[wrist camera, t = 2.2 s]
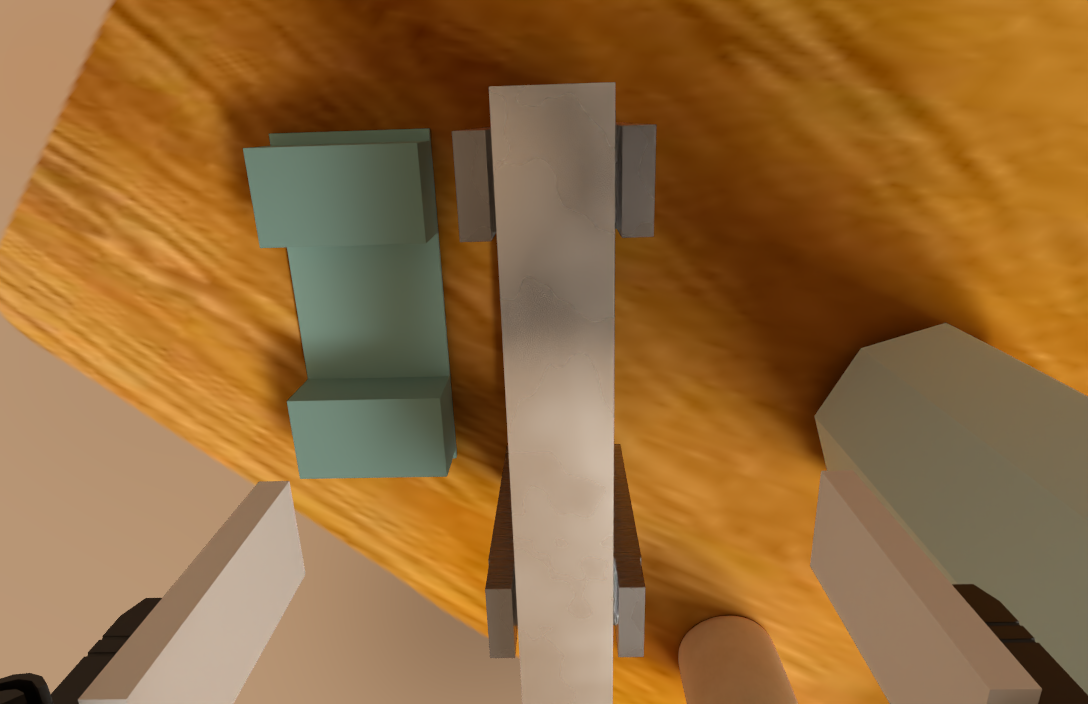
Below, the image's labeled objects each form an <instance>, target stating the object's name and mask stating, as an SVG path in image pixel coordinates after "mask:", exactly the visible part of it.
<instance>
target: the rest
mask: <svg viewBox="0 0 1088 704" xmlns="http://www.w3.org/2000/svg"><path fill="white" fill-rule="evenodd" d="M269 139H270V145H271V146H262V147H252V148H243V152H244V158H245V164H246V169H247V175H248V181H249V187H250V192H251V198H252V204H253V210H254V216H255V221H256V227H257V233H258V239H259V244H260V248H279V247H287V251H288V257H289V264H290V270H291V276H292V282H293V289H294V295H295V301H296V307H297V314H298V320H299V326H300V332H301V339H302V345H303V351H304V358H305V364H306V370H307V376H308V380H307V381H306V382H305V383H304V384H303V385H302V386H301V387H300V388H299V389H298V390H297V391H296V392H295V393H294V394H293V395H292V396H291V397H290V398H289V399H288V401H287V406H288V412H289V417H290V423H291V429H292V435H293V440H294V446H295V452H296V458H297V463H298V469H299V475H300V479H318V478H380V477H443V476H447V475H448V472H449V468H450V465H451V462H452V459H453V458H456V457H457V449H456V437H455V425H454V413H453V401H452V389H451V377H450V365H449V353H448V341H447V329H446V317H445V305H444V293H443V281H442V269H441V257H440V245H439V233H438V221H437V209H436V197H435V185H434V173H433V161H432V149H431V137H430V128H427V129H397V130H366V131H335V132H304V133H274V134H269Z"/></svg>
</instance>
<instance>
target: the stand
mask: <svg viewBox="0 0 1088 704" xmlns="http://www.w3.org/2000/svg"><path fill="white" fill-rule="evenodd" d="M452 141H453V154H454V168H455V182H456V195H457V209H458V223H459V237H460V242H479V241H492V239H493V237H494V236H495V234H496V232H497V230H496V212H495V193H494V175H493V157H492V138H491V127H482V128H473V129H465V130H457V131H452ZM655 163H656V124H642V123H625V122H618V123H616V110H615V229H618V231H619V233H620V235H621V237H622V238H627V237H654V205H655ZM614 345H615V279H614ZM485 593H486V606H487V620H488V634H489V648H490V658H515V654H516V642H517V630H518V616H517V598H516V580H515V561H514V543H513V524H512V506H511V488H510V469H509V451H508V446H507V448H506V454H505V461H504V467H503V473H502V479H501V486H500V492H499V498H498V504H497V510H496V517H495V523H494V529H493V535H492V541H491V548H490V554H489V569H488V575H487V581H486V588H485ZM644 623H645V583H644V577H643V572H642V566H641V554H640V548H639V543H638V537H637V532H636V527H635V521H634V516H633V511H632V505H631V500H630V494H629V489H628V484H627V478H626V473H625V468H624V462H623V457H622V451H621V446H620V444H614V506H613V625H615V630H616V639H617V648H618V657H644Z"/></svg>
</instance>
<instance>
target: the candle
mask: <svg viewBox="0 0 1088 704" xmlns="http://www.w3.org/2000/svg"><path fill="white" fill-rule="evenodd" d="M678 662H679V669H680V674H681V679H682V683H683V688H684V693H685V697H686V702H687V704H798V702H797V699H796V697H795V695H794V692H793V690H792V687H791V685H790V682H789V680H788V677H787V675H786V672H785V670H784V668H783V665H782V663H781V660H780V658H779V655H778V653H777V651H776V648H775V646H774V644H773V642H772V640H771V638H770V636H769V635H768V633H767V632H766V631H765V630H764V629H763V628H762V627H761V626H760V625H759V624H757V623H756V622H754V621H752V620H750V619H747V618H744V617H739V616H718V617H714V618H710V619H707V620H705V621H703V622H701V623H699V624H697V625H696V626H694V627H693V628H692V629H691V630H690V631H689V632H688V633H687V634H686V635H685V637H684V638H683V640H682V642H681V644H680V647H679V652H678Z"/></svg>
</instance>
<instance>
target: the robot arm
mask: <svg viewBox="0 0 1088 704" xmlns="http://www.w3.org/2000/svg"><path fill="white" fill-rule="evenodd" d="M810 566H811V568H812V570H813V572H814V573H815V575H816V577H817V579H818V580H819V582H820V584H821V585H822V587H823V589H824V591H825V592H826V594H827V596H828V598H829V599H830V601H831V603H832V604H833V606H834V608H835V610H836V611H837V613H838V615H839V617H840V618H841V620H842V622H843V623H844V625H845V627H846V629H847V630H848V632H849V634H850V636H851V637H852V639H853V641H854V642H855V644H856V646H857V648H858V649H859V651H860V653H861V655H862V656H863V658H864V660H865V661H866V663H867V665H868V667H869V668H870V670H871V672H872V674H873V675H874V677H875V679H876V680H877V682H878V684H879V686H880V687H881V689H882V691H883V692H884V694H885V696H886V698H887V699H888V701H889V703H890V704H1088V695H1087V694H1086V693H1085V692H1084V690H1083V689H1082V688H1081V687H1080V686H1079V685H1078V684H1077V683H1076V682H1075V681H1074V680H1073V679H1072V678H1071V677H1070V675H1069V674H1068V673H1067V672H1066V671H1065V670H1064V669H1063V668H1062V667H1061V666H1060V665H1059V664H1058V663H1057V662H1056V661H1055V659H1054V658H1053V657H1052V656H1051V655H1050V654H1049V653H1048V652H1047V651H1046V650H1045V649H1044V648H1043V647H1042V646H1041V644H1040V643H1036V642H1035V638H1034V637H1033V636H1032V635H1031V634H1030V633H1029V632H1028V631H1027V629H1026V628H1025V627H1024V626H1020V624H1019V621H1018V620H1017V619H1016V618H1015V617H1014V616H1013V615H1012V613H1011V612H1010V611H1009V610H1008V609H1007V608H1006V607H1005V606H1004V605H1003V604H1002V603H1001V602H1000V601H999V600H997V599H996V598H994V597H993V596H991V595H990V594H988V593H986V592H985V591H983V590H982V589H980V588H979V587H977V586H976V585H974V584H951V583H950V582H949V581H948V580H947V578H946V577H945V576H944V575H943V574H942V573H941V571H940V570H939V569H938V568H937V567H936V566H935V565H934V563H933V562H932V561H931V560H930V559H929V558H928V556H927V555H926V554H925V553H924V552H923V551H922V549H921V548H920V547H919V546H918V545H917V544H916V543H915V541H914V540H913V539H912V538H911V537H910V536H909V534H908V533H907V532H906V531H905V530H904V529H903V527H902V526H901V525H900V524H899V523H898V522H897V521H896V519H895V518H894V517H893V516H892V515H891V514H890V512H889V511H888V510H887V509H886V508H885V507H884V506H883V504H882V503H881V502H880V501H879V500H878V499H877V497H876V496H875V495H874V494H873V493H872V492H871V490H870V489H869V488H868V487H867V486H866V485H865V484H864V482H863V481H862V480H861V479H860V478H859V477H858V475H857V474H856V473H855V472H854V471H853V470H841V471H821V478H820V487H819V495H818V504H817V512H816V521H815V529H814V538H813V546H812V555H811V563H810ZM304 576H305V568H304V562H303V557H302V551H301V545H300V539H299V534H298V528H297V522H296V517H295V511H294V505H293V499H292V494H291V488H290V482H289V481H273V482H258V483H257V485H256V486H255V487H254V488H253V490H252V491H251V492H250V493H249V494H248V496H247V497H246V498H245V499H244V500H243V502H242V503H241V504H240V505H239V506H238V508H237V509H236V510H235V511H234V512H233V514H232V515H231V516H230V517H229V518H228V520H227V521H226V522H225V523H224V524H223V526H222V527H221V528H220V529H219V530H218V532H217V533H216V534H215V535H214V536H213V538H212V539H211V540H210V541H209V543H208V544H207V545H206V546H205V547H204V548H203V550H202V551H201V552H200V553H199V555H198V556H197V557H196V558H195V559H194V561H193V562H192V563H191V564H190V566H188V568H187V569H186V570H185V571H184V573H183V574H182V575H181V576H180V577H179V579H178V580H177V581H176V582H175V583H174V585H173V586H172V587H171V588H170V589H169V591H168V592H167V593H166V594H165V595H164V597H163V598H146V599H144V600H143V601H141V602H140V603H138V604H137V605H136V606H134V607H133V608H131V609H130V610H128V611H127V612H125V613H124V614H122V615H121V616H120V617H119V618H118V619H117V620H116V621H115V623H114V624H113V625H112V626H111V627H110V628H109V629H108V630H107V632H106V633H105V634H104V635H103V638H102V640H99V641H98V642H97V643H96V644H95V645H94V646H93V647H92V649H91V650H90V651H89V652H88V656H87V657H84V658H83V659H82V660H81V661H80V662H79V663H78V664H77V665H76V667H75V668H74V669H73V670H72V671H71V672H70V673H69V674H68V676H67V677H66V678H65V679H64V680H63V681H62V682H61V684H60V685H59V686H58V687H57V688H56V689H55V690H54V691H53V693H52V694H51V695H50V692H49V689H48V686H47V684H46V682H45V680H44V679H43V677H42V676H39V675H35V674H32V673H26V674H16V675H11V676H8V677H5V678H1V679H0V704H233V703H234V702H235V700H236V698H237V696H238V694H239V693H240V690H241V689H242V687H243V685H244V684H245V682H246V680H247V678H248V676H249V675H250V673H251V671H252V669H253V667H254V666H255V664H256V662H257V660H258V659H259V657H260V655H261V653H262V651H263V650H264V648H265V646H266V644H267V642H268V640H269V639H270V637H271V635H272V633H273V632H274V630H275V628H276V626H277V624H278V623H279V621H280V619H281V617H282V615H283V613H284V612H285V610H286V608H287V606H288V605H289V603H290V601H291V599H292V597H293V596H294V593H295V592H296V590H297V588H298V587H299V585H300V583H301V581H302V579H303V578H304Z"/></svg>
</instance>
